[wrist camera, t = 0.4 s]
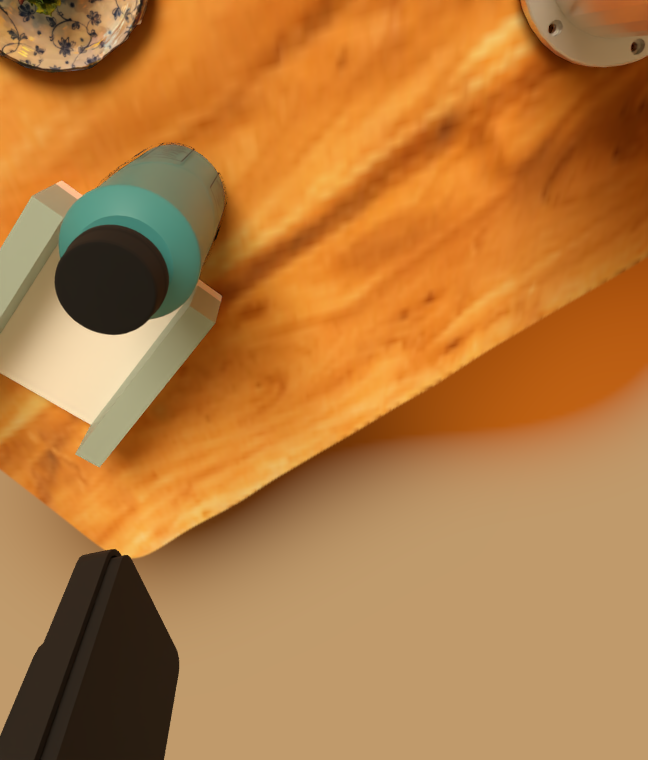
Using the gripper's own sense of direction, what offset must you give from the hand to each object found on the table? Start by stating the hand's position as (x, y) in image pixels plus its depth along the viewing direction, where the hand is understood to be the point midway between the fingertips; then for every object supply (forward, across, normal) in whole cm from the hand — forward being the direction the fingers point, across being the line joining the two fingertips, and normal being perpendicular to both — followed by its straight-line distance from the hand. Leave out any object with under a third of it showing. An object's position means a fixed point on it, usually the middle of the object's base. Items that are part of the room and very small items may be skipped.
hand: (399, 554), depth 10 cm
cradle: (+34, +18, +6) cm, 39 cm away
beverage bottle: (+34, +9, -2) cm, 35 cm away
